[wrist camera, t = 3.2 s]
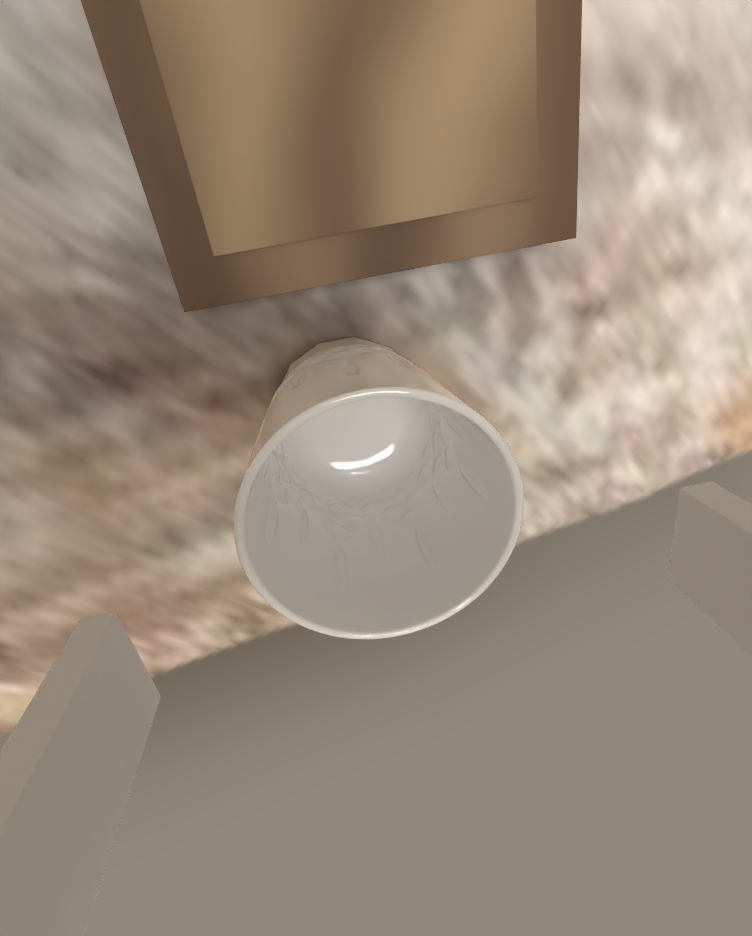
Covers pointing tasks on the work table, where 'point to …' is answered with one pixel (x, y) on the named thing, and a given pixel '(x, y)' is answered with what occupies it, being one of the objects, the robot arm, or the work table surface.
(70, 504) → the work table surface
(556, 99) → the base
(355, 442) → the white cup
